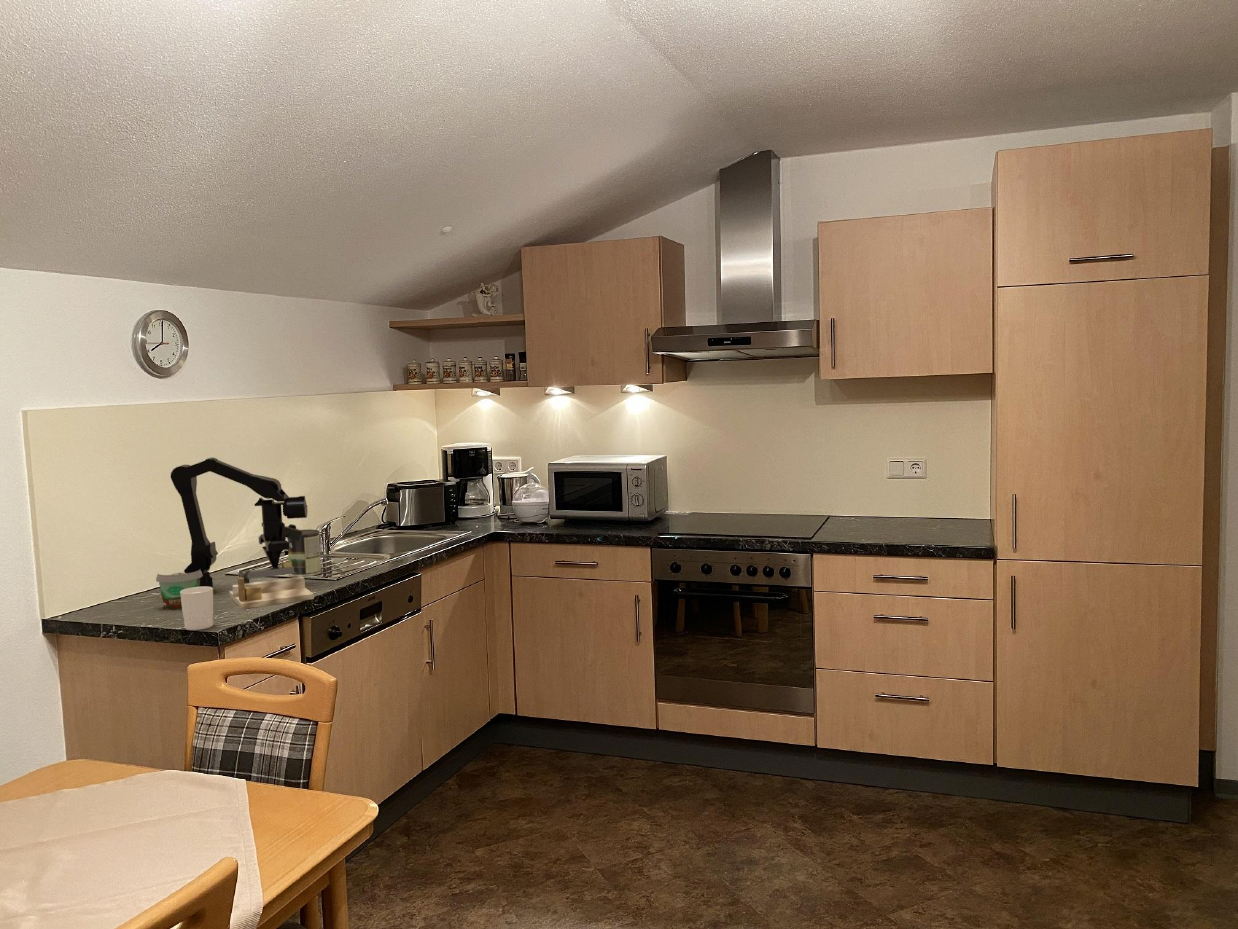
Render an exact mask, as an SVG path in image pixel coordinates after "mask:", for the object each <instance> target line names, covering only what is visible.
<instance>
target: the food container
mask: <svg viewBox="0 0 1238 929" xmlns="http://www.w3.org/2000/svg"><path fill="white" fill-rule="evenodd" d="M202 576H203V575H202V571H201V570H198V571H196V572H192V573H185V572H177V573H172V574H159V573H157V575H156V576H155V577H156V579H155V581H156V582H158V585H159V589H160V595H161V601H162V605H163V609H167V610H182V604H181V595H180V591H181V590H184V589H187V588H193V587H200V578H201V577H202Z"/></svg>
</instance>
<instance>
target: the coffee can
mask: <svg viewBox="0 0 1238 929" xmlns="http://www.w3.org/2000/svg"><path fill="white" fill-rule="evenodd" d="M300 530H301V531H303V532H302V536H301V539H300V541H296V540H295V539H290V538H286V541H287V542H289V545H290V549H288V550H287V553H288V554H287V558H288V561H290V562H292V566H293V567H294V573H293V574H288V575H289V576H290V577H300V576H302V577H304V578H306V577H314V576H317V575H319V574H321V573H322V567H321V566H322V565H321V549H320V548H321V546H320V530H319V529H300Z"/></svg>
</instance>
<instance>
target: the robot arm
mask: <svg viewBox="0 0 1238 929" xmlns="http://www.w3.org/2000/svg"><path fill="white" fill-rule="evenodd" d="M208 472H210V473H213V474H216V475H218V476H219V477H220V476H221V477H224V478H226V479H228V480H230V481H233V482H235V483H238V484H240V485H241V484H242V486H245V487H247V488H249V489H250V490H252V491H253V492H255V494H257V495H259V496H261V497H259V498H258V500H257V501H256V502H255V503H254V506H255V507H261V517H262V520H261V527H262V533H261V534H260V535H259V536H258V544H259V545H263V544H264V546H262V547H261V548H262V549H263V551H264V554H265V556H266V557H267V560H268V562H269V563H270V566H271V568H274V567H279V563H280V559H281V554H282V553H283V552H284V551H286V550H287V551H288V549H290V545H289V542H288V541H287V538H290V539H295V540H296V541H300V539H301V536H302V532H303V531H301V530H302V529H299V528H297V526H296V524H292V523H290V524H289V525H288V526H286V524H285V523H284V522H283V516H284V517H286V518H287V519H288V520H289V519H290V520H291V519H307V518H308V512H309V511H308V505H307V501H306V496H305V495H299V496H289V495H288V494H287V492H285V490H283V488H282V484H281V482H280V480H278V479H277V478H273V477H270V476H266V475H258V474H253V473H250V472H248V471H246V470H244V469H241V468H239V467H236V466H234V465H231V464H230V463H229V464H228V463H226V462H224V461H222V460H219V459H218V458H216V457H208V458H206V459H205V460H202V461H200V462H197V463H194V464H191V465H190V464H181V465H180V466H176V467H175V468H173V469H172V470H171V472H170V479H171V482H172V484H173V486H174V488H175V490H176V492H177V493H178V495H179V496H180V498H181V502H182V507H183V510H184V514H185V519H186V522H187V523H186V524H187V526H188V527H187V528H188V531H189V534H190V539H191V547H190V548H191V549H190V561H191V562H190V563H189V565H187V566H186V568H184V570H183V573H192V572H196V571H198V570H201V571H202V575H203V576H202V577H201V578H200V587H212V588H213V589H214V584H213V577H212V576H211V572H210V569H211V567H212V566H213V565H214V564H215V563H216V561H217V555H219V553H218V550H217V549H216V548H217V547H216V542H215V541H212V542H210V540H209V539H208V536H207V533H206V529H205V525H204V520H203V516H202V513H201V508H200V505H199V500H198V495H197V486H198V485H197V484H198V480H197V479H198V478H197V477H198V476H200V475H203V474H206V473H208Z"/></svg>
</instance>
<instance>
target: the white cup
mask: <svg viewBox="0 0 1238 929" xmlns="http://www.w3.org/2000/svg"><path fill="white" fill-rule="evenodd" d="M180 595H181V604H182V609H181V610H182V618H183V620H184V622H183V623H184V629H185V630H187V631H199V630H207V629H209V628H211V627H213V626H214V587H213V588H212V587H193V588H187V589H184V590H181V591H180Z"/></svg>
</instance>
